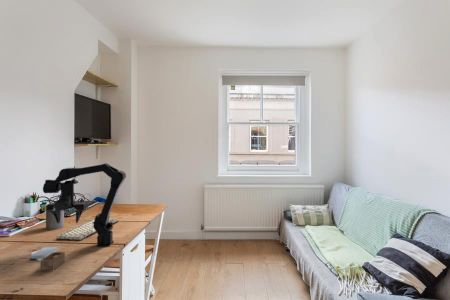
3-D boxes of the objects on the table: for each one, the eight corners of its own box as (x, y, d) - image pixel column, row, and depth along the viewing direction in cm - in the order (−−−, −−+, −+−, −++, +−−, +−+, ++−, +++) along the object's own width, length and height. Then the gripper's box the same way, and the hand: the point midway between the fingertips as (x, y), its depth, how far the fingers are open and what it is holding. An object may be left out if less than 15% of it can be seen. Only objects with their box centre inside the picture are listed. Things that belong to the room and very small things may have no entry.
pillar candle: (42, 228, 165) (42, 204, 165) (58, 224, 174) (58, 201, 174) (51, 231, 161) (51, 206, 160) (67, 226, 169) (67, 203, 169)
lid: (58, 249, 130) (58, 246, 130) (44, 258, 120) (44, 255, 120) (44, 249, 130) (44, 247, 130) (29, 258, 120) (29, 255, 120)
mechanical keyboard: (85, 242, 143) (85, 236, 143) (52, 241, 145) (52, 235, 145) (119, 222, 181) (119, 217, 181) (93, 221, 183) (93, 217, 183)
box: (64, 261, 118) (64, 251, 118) (53, 271, 110) (53, 260, 109) (53, 262, 118) (53, 252, 118) (40, 271, 109) (40, 260, 109)
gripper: (38, 195, 127) (38, 228, 128) (78, 195, 128) (78, 227, 129) (52, 191, 139) (52, 221, 139) (88, 191, 139) (89, 221, 140)
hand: (67, 223), depth 136 cm, fingers open, 9 cm apart
